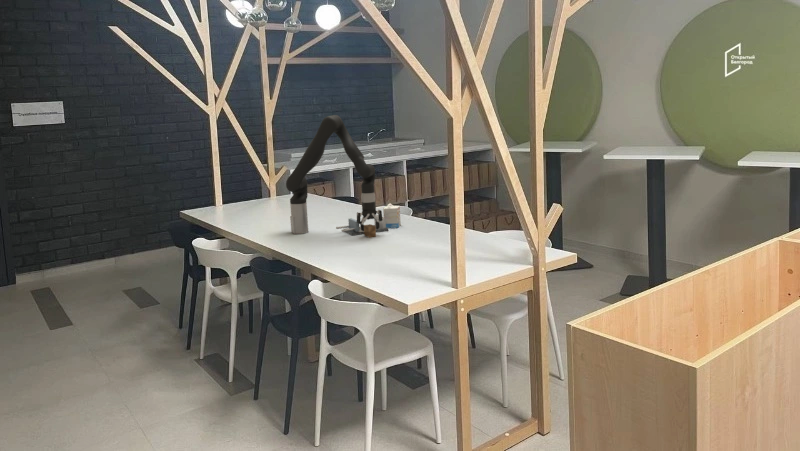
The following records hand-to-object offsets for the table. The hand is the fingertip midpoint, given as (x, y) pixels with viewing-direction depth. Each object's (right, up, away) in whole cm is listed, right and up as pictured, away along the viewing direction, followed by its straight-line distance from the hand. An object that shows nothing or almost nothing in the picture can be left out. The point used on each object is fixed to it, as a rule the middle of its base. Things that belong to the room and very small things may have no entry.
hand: (370, 229), depth 374 cm
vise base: (-3, -1, +15) cm, 15 cm away
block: (0, -4, +1) cm, 4 cm away
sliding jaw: (-13, 0, +10) cm, 17 cm away
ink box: (+12, +2, +25) cm, 27 cm away
